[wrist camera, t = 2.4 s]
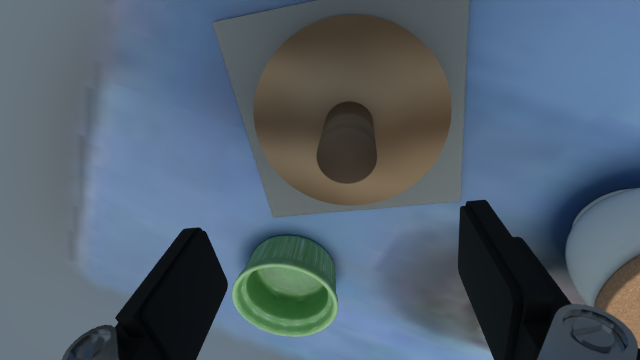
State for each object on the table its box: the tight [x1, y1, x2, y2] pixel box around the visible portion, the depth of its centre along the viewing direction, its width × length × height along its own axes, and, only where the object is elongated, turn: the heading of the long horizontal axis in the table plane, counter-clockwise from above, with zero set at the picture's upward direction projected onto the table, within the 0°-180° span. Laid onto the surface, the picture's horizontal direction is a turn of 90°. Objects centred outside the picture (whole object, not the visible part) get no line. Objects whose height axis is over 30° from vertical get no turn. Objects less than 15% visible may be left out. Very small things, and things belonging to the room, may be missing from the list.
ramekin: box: [232, 235, 338, 337], centre depth 28 cm, size 9×9×4 cm
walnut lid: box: [254, 15, 452, 206], centre depth 19 cm, size 13×13×6 cm
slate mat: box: [212, 0, 470, 217], centre depth 22 cm, size 15×15×1 cm
